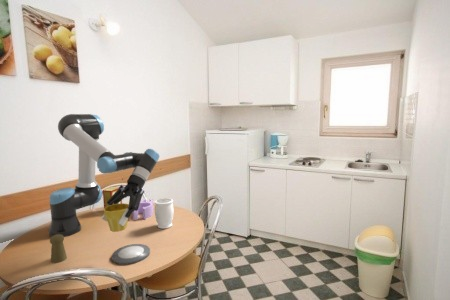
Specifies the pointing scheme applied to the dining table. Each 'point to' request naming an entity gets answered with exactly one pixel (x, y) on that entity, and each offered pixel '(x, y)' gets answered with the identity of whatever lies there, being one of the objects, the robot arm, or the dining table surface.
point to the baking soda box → (109, 195)
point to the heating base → (130, 254)
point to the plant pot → (115, 216)
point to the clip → (144, 209)
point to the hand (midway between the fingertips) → (112, 222)
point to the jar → (164, 212)
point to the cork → (57, 249)
